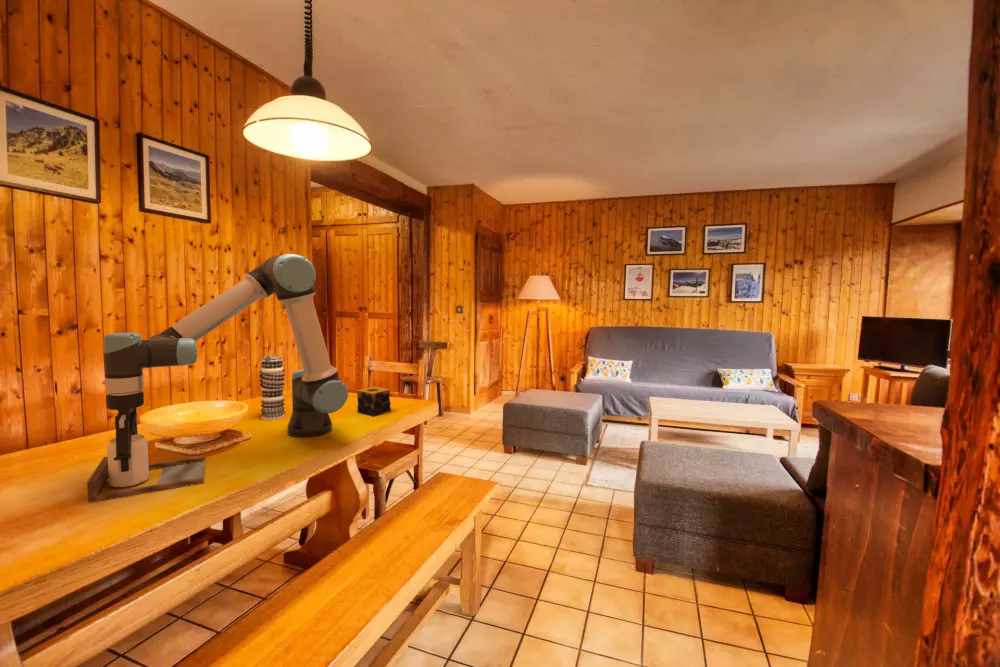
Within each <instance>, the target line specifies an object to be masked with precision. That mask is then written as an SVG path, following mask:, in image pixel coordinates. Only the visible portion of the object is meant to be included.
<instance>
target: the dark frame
mask: <svg viewBox="0 0 1000 667" xmlns="http://www.w3.org/2000/svg"><path fill="white" fill-rule="evenodd" d="M204 460H205V461H204ZM198 461H202V462H198ZM191 462H195V463H191ZM184 463H189V464H184ZM179 464H182V465H179ZM172 465H176V466H172ZM148 466H149V470H154V469H153V468H156V469H160V468H159V467H162V471H161V472H160V473H161V474H160V477H159V480H158V484H153V485H152V484H151V485H148V486H141V487H135V488H128V489H124V490H123V489H122V490H117V491H111V492H105V493H103V491H102V490H104V489H105V487H106V486H105V485H107V484H108V482H109V480H108V479H109V473H108V456H104V457H103V458H102V459H101V461H100V462H99V463H98V465H97V467H96V469H94V471H93V474H91V476H90V477H89V479H88V480H87V482H86V487H87V490H86V491H87V502H90V503H95V502H94V501H96V502H100V501H99V500H102V501H106V500H105V499H107V500H111V499H110V498H113V499H117V498H116V497H119V498H124V497H123V496H125V497H129V496H128V495H130V496H135V495H134V494H136V495H140V494H139V493H142V494H147V493H146V492H148V493H153V492H152V491H154V492H158V491H157V490H159V491H164V490H163V489H165V490H170V489H169V488H171V489H175V488H174V487H177V488H182V487H186V486H185V485H188V486H192V485H191V484H194V485H198V484H197V483H200V484H204V482H205V471H204V470H205V469H206V455H202V456H195V457H188V458H187V457H186V458H182V459H174V460H168V461H161V462H154V463H153V462H152V463H148ZM166 466H169V467H166ZM107 481H108V482H107ZM106 483H107V484H106ZM181 486H182V487H181ZM103 488H104V489H103ZM101 492H102V493H101Z"/></svg>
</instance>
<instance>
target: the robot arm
mask: <svg viewBox="0 0 1000 667" xmlns="http://www.w3.org/2000/svg"><path fill="white" fill-rule="evenodd" d="M316 278H317V273H316V269H315V267H314V264H312V262H311V261H310V260H309V259H308V258H306V257H304V256H303V255H299V254H296V253H286V254H282V255H281V254H280V255H279V254H278V255H273V256H271V257H268V258H267V259H265V260H264V261H263V262H262V263H260V264H259V265H258V266H256V267H255V268H253V269H252V270H250V271H249V272H248V273H246V274H245V275H244V279H243V280H241V281H240V282H238V283H236V284H235V285H233V286H231V287H230V288H229V289H227V290H226V291H224V292H222V293H221V294H220V295H218V296H216V297H215V298H213V299H212V300H209V301H208V302H206V303H205V304H204V305H202V306H200V307H199V308H197V309H195V310H194V311H193V312H192V313H189V314H188V315H186V316H185V317H183V318H182V319H180V320H178V321H177V322H176V323H174V324H172V325H170V327H168V328H166V329H165V330H163V331H161V332H158V333H155V334H152V336H150V337H149V338H148V339H143V338H142V336H141V334H140V333H138V332H113V333H107V334H106V335H105V336H103V341H102V342H103V343H102V347H103V349H102V350H103V366H104V368H103V369H104V380H102V382H101V384H102V385H105V393H107V394H106V395H105V407H106V409H107V410H111V411H117V413H116V415H115V416H114V425H115V426H114V427H115V438H116V458H114V460H118V470H119V484H123V483H130V482H133V463H132V457H131V436H132V435H135V434H139V433H138V419H137V418H138V412H137V408H140V407H142V406H144V404H145V395H144V394H145V393H144V391H142V390H143V389H144V388H145V386H144V372H143V369H151V368H163V367H176V366H177V367H179V366H180V367H182V366H188V365H189V366H190V365H194V364H195V363H196V362H197V358H198V347H197V341H199V340H201V339H202V338H203V337H205V336H207V335H208V334H209V333H211V332H212V331H214V330H215V329H217V328H219V327H220V326H221V325H224V323H226V322H227V321H229V320H230V319H232V318H233V317H235V316H236V315H238V314H239V313H241V312H242V311H244V310H245V309H247V308H249V306H251V305H252V304H254V303H256V302H257V301H258V300H260V299H262V298H263V299H268V298H269V297H270V296H272V295H273V294H275V296H276V299H277V301H278V302H280V303H282V304H283V305H284V308H285V312H286V314H287V317H288V320H289V324H290V327H291V331H292V336H293V337H294V338H293V339H294V341H295V344H296V348H297V351H298V355H299V357H300V362H301V364H302V368H303V369H299V370H295V371H293V372H292V374H291V396H292V398H291V400H292V404H291V405H292V412H291V415H290V417H289V421H288V424H287V434H288V435H289V436H292V437H299V438H307V437H309V436H310V437H316V436H317V437H318V436H321V435H325V434H327V433H330V431H332V430H333V424H332V423H333V422H332V419H331V417H330V415H329V414H333V413H336V412H337V411H339V410H340V409H341V408H343V407H344V405H345V404H346V402H347V400H348V397H349V390H348V387H347V385H346V384H345V383H344V382H343V381H341V378H340V375H339V372H338V368H336V367H335V366H333V365H332V363H331V361H330V360H331V359H330V356H329V353H328V348H327V346H326V342H325V338H324V336H323V332H322V329H321V324H320V321H319V317H318V314H317V310H316V307H315V304H314V296H315V295H316V293H317V291H316V288H315V285H314V284H315V282H316Z"/></svg>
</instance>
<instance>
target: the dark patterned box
mask: <svg viewBox="0 0 1000 667" xmlns="http://www.w3.org/2000/svg"><path fill="white" fill-rule="evenodd" d="M356 394H357V395H356V397H357V407H356V408H357V413H358V414H362V415H365V416H370V417H376V416H375V415H377V416H380V415H382V413H383V414H385V413H384V412H387V413H389V412H388V411H390V412H391V411H392V410H391V400H390V398H391V397H390V396H391V389H390V388H386V387H385V388H384V387H379V386H370V387H367V388H362V389H358V390H356ZM379 414H380V415H379Z"/></svg>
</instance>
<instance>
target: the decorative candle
mask: <svg viewBox="0 0 1000 667" xmlns="http://www.w3.org/2000/svg"><path fill="white" fill-rule="evenodd" d="M283 360H284V359H283V358H282V357H281V355H277V354H272V355H265V356H263V357H262V359H261V360H260V362H261V367H260V370H259V372H258V373H259V378H260V380H259V383H260V384H259V386H260V387H261V388H260V390H261V401H260V403H261V405H260V407H261V409H260V412H261V413H260V414H261V415H260V416H261V420H264V421H265V420H266V421H267V420H268V421H273V420H274V421H275V420H279V419H282V417H283V418H284V417H285V399H284V388H285V383H284V382H283V381H285V380H286V379H285V374H284V372H286V370H285V369H284V366H283V364H284V363H283Z"/></svg>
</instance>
